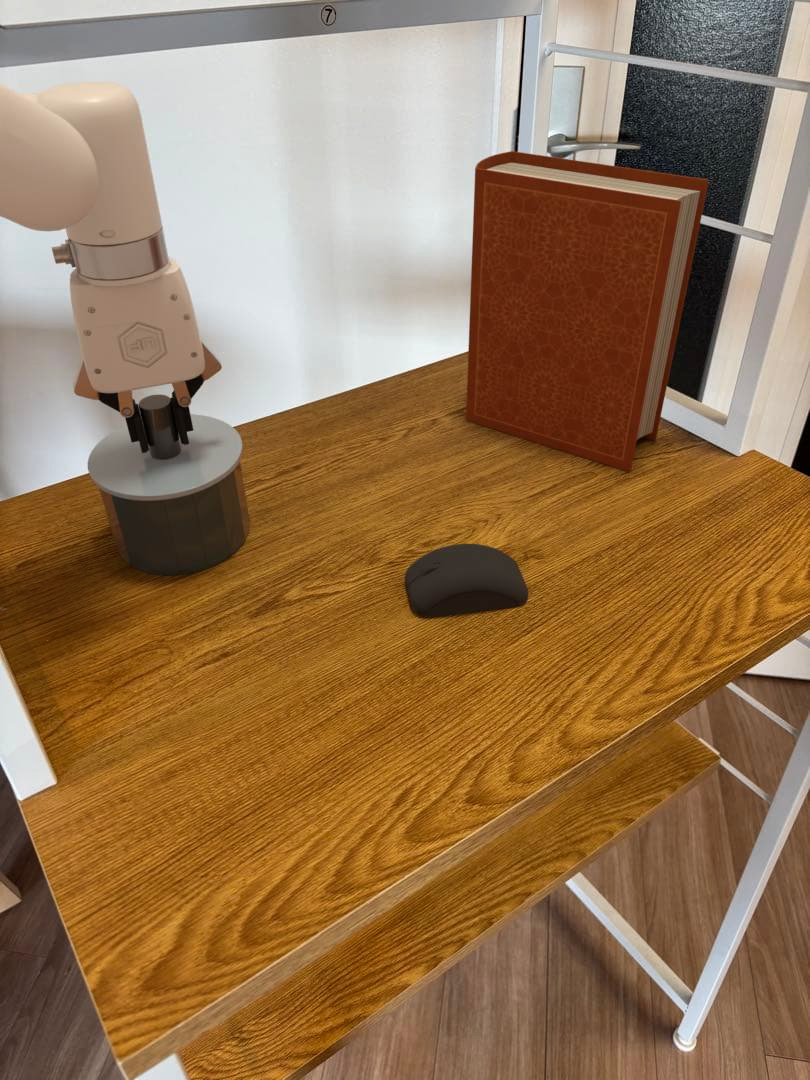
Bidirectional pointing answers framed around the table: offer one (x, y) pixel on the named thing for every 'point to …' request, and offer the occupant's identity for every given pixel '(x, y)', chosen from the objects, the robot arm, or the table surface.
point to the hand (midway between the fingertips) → (163, 440)
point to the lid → (165, 455)
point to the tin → (181, 528)
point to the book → (577, 299)
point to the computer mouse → (464, 581)
